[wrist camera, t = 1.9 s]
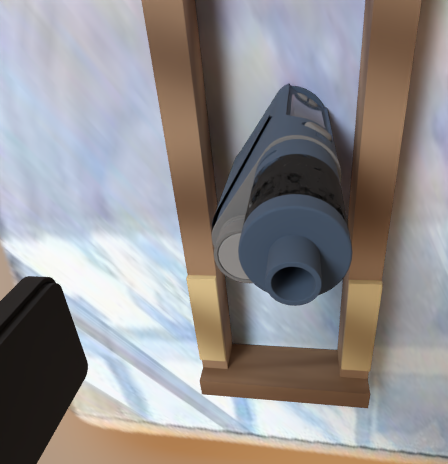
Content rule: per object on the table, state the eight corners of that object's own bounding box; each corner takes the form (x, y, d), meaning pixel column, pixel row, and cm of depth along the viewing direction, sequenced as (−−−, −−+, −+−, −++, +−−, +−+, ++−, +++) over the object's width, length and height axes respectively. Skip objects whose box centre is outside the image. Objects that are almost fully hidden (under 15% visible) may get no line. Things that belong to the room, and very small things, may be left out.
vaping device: (340, 101, 17) (395, 274, 7) (271, 194, 20) (242, 412, 10) (289, 68, 17) (272, 200, 7) (227, 167, 20) (149, 365, 9)
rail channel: (140, -121, 14) (106, -142, 12) (428, -166, 13) (460, -203, 10) (211, 355, 27) (202, 394, 24) (361, 365, 25) (368, 408, 23)
